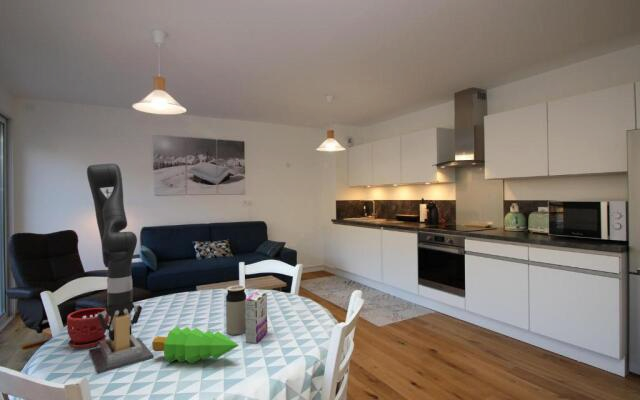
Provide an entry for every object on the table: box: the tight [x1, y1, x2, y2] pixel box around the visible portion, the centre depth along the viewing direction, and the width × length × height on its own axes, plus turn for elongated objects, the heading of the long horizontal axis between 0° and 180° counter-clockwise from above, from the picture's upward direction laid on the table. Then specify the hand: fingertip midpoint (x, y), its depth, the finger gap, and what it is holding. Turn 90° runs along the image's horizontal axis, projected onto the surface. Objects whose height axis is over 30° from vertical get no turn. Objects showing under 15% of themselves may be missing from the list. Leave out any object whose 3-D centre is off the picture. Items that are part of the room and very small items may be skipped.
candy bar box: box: [245, 291, 268, 344], centre depth 130 cm, size 11×5×16 cm, turn 168°
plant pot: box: [66, 307, 109, 350], centre depth 126 cm, size 13×13×12 cm
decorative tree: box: [152, 326, 240, 365], centre depth 111 cm, size 11×12×30 cm
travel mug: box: [225, 285, 247, 336], centre depth 137 cm, size 8×8×18 cm
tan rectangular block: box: [111, 315, 131, 352], centre depth 116 cm, size 4×9×12 cm, turn 41°
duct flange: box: [88, 333, 154, 375], centre depth 116 cm, size 20×16×4 cm
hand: (120, 338), depth 117 cm, fingers closed on tan rectangular block, 4 cm apart
